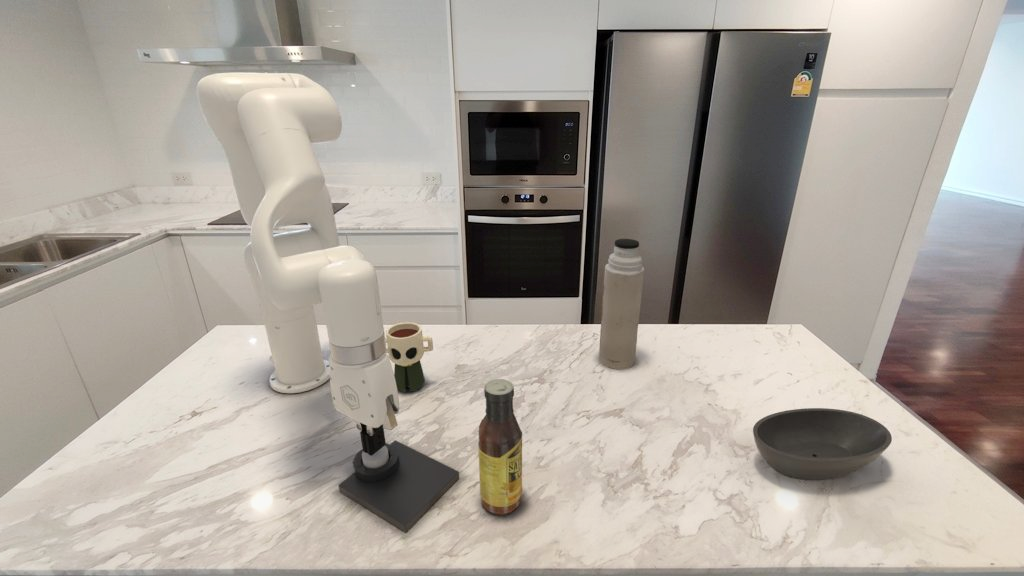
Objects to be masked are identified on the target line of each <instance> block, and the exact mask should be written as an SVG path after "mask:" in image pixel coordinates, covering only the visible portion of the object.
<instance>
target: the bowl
mask: <svg viewBox="0 0 1024 576" xmlns="http://www.w3.org/2000/svg"><path fill="white" fill-rule="evenodd" d="M752 434H753V439H754V442H755V445H756V448H757V450H758V453H759V454H760V456H761V457H762V459H763V460H764V461H765V462H766V464H767V465H768V466H769V467H770V468H771V469H773V470H774V471H775V472H776V473H778V474H780V475H782V476H784V477H787V478H790V479H794V480H801V481H814V482H815V481H816V482H817V481H818V482H819V481H828V480H830V481H831V480H835V479H839V478H843V477H845V476H847V475H851V474H853V473H855V472H857V471H859V470H861V469H863V468H865V467H866V466H868V465H870V464H872V462H874V461H875V460H876V459H877V458H879V457H880V456H881V455H882V454H883V453H884V452H885V451H886V450H887V449H888V448H889V446H890V445H891V444H892V441H893V436H892V434H891V432H890V431H889V429H888V428H887V427H885V426H884V424H882V423H881V422H879V421H877V420H876V419H873V418H871V417H870V416H867V415H864V414H861V413H859V412H854V411H849V410H844V409H836V408H825V407H809V408H807V407H806V408H797V409H796V408H795V409H794V408H793V409H788V410H783V411H777V412H775V413H771V414H769V415H766V416H763V417H762V418H760V419H759V420H758V421H756V422H755V424H754V425H753V428H752Z"/></svg>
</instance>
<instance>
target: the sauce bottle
mask: <svg viewBox="0 0 1024 576" xmlns="http://www.w3.org/2000/svg"><path fill="white" fill-rule="evenodd" d="M483 391H484V393H483V395H484V398H485V415H484V416H483V419H481V421H480V423H479V425H478V472H479V473H478V474H479V475H478V476H479V494H480V499H481V504H482V505H483V507H484V509H485V510H486V511H488V512H489V513H491V514H494V515H499V516H500V515H502V516H503V515H507V514H511V513H512V512H514V511H515V510H516V509H517V508H518V507H519V506H520V503H521V501H522V494H523V433H522V430H521V428H520V424H519V422H518V420H517V418H516V416H515V413H514V412H515V410H514V396H515V387H514V384H513V383H512V382H511V381H509V380H508V379H505V378H496V379H495V378H494V379H492V380H490V381H488V382H486V383H485V384H484V388H483Z"/></svg>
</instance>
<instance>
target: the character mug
mask: <svg viewBox="0 0 1024 576" xmlns="http://www.w3.org/2000/svg"><path fill="white" fill-rule="evenodd" d="M385 342H386V349H387V353H386V354H387V355H388V356H389V359H390V362H391V363H393V364H394V369H393V372H394V376H395V381H396V385H397V391H401V392H406V388H409V392H414V391H417V390H419V389H421V388H422V387H423V386H424V384H425V382H426V380H425V375H424V371H423V367H422V363H421V360H422V359H423V357H424V354H425V352H426V353H427V352H432V351H433V350H434V343H433V342H434V341H433V337H432V336H423V330H422V326H421V325H420V324H418V323H416V322H412V321H410V322H409V321H405V322H398V323H396V324H393V325H390V326H389V327H388V328H387V329H386V330H385ZM424 342H427V346H424Z"/></svg>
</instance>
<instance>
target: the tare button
mask: <svg viewBox="0 0 1024 576" xmlns="http://www.w3.org/2000/svg"><path fill="white" fill-rule="evenodd" d="M362 460H363V465H364V466H365V467H366V468H368V469H376V468H379V467H382V466H384V465H385V464H386V463H387V462H388V460H389V455H388V449H387V447H386V446H383V447H382V448H381V449H380V450H378V451H377V452H376V453H375V454H373V455H372V456H370V455H369V454H368V453H365V452H362Z"/></svg>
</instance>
